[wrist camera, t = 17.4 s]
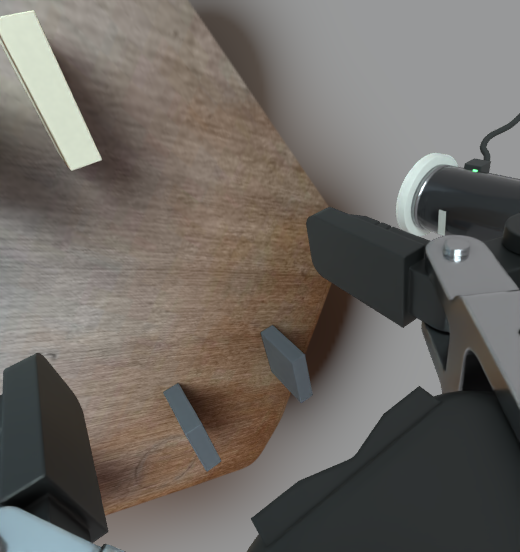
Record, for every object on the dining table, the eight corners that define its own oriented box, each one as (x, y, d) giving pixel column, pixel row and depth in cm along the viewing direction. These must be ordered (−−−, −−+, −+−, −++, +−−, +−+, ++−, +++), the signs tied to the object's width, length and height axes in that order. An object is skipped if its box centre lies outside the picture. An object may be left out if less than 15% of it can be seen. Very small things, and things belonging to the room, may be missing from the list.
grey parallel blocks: (272, 324, 49) (305, 354, 44) (282, 364, 54) (313, 395, 48) (163, 391, 44) (185, 434, 38) (184, 429, 48) (206, 472, 43)
